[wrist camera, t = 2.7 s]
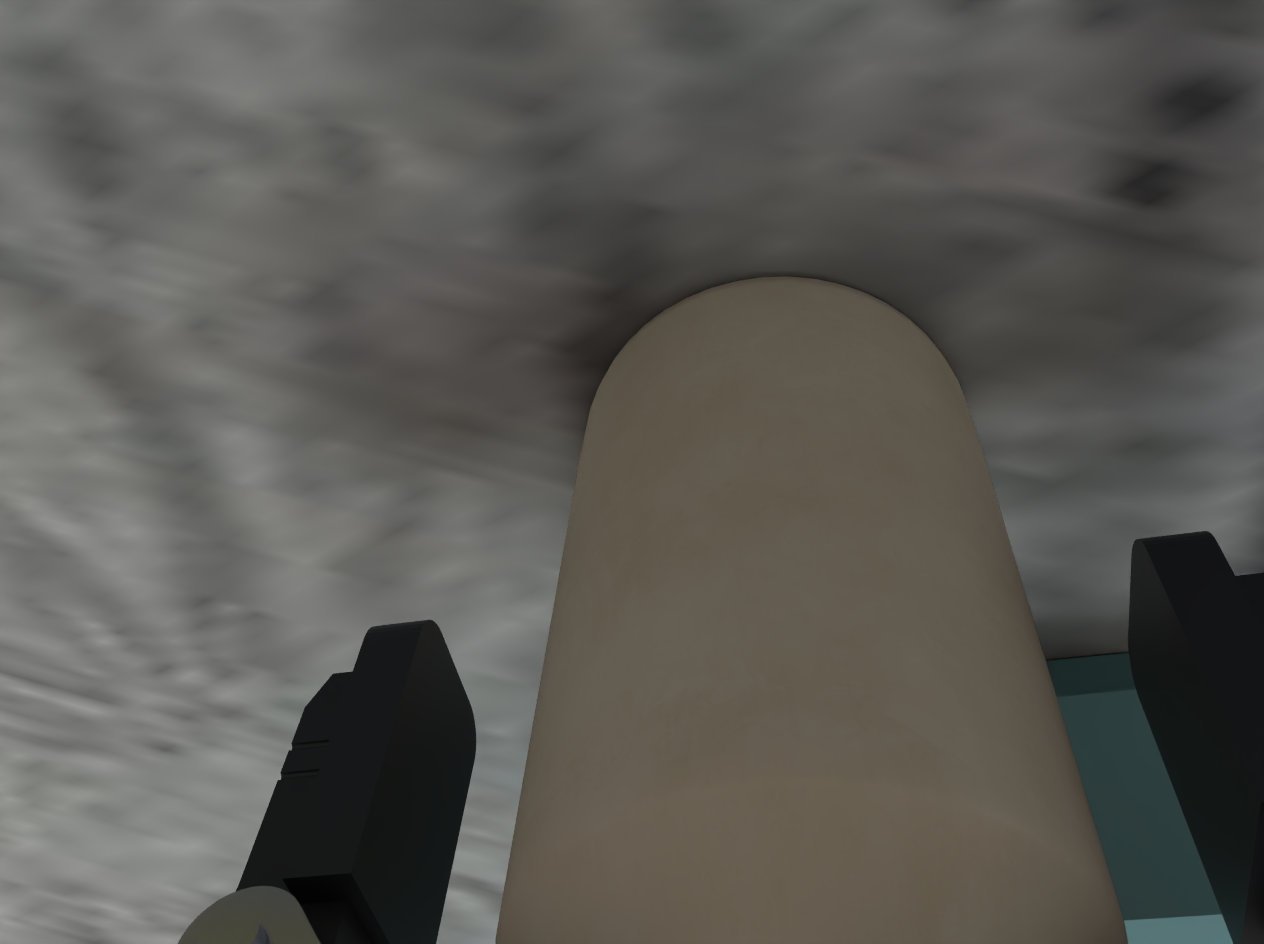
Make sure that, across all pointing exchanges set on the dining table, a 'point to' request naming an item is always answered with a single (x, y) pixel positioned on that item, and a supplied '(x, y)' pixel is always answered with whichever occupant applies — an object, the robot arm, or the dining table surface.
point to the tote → (1135, 806)
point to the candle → (795, 657)
